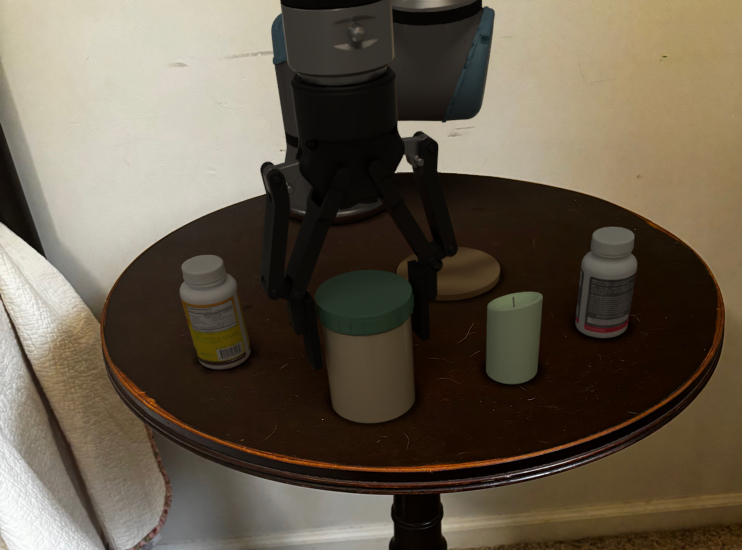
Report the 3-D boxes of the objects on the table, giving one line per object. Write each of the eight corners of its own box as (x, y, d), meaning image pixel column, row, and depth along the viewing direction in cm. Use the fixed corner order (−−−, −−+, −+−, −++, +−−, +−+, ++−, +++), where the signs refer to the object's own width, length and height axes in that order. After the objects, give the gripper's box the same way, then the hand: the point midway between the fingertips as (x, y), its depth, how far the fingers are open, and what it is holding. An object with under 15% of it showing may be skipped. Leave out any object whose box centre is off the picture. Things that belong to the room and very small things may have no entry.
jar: (320, 388, 78) (305, 288, 70) (395, 367, 80) (388, 268, 72) (348, 432, 72) (336, 330, 65) (429, 408, 74) (425, 306, 67)
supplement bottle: (216, 339, 85) (193, 247, 78) (261, 347, 84) (242, 254, 76) (187, 367, 82) (161, 272, 74) (234, 376, 80) (211, 280, 73)
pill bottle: (638, 328, 82) (654, 236, 76) (599, 345, 81) (612, 252, 74) (601, 308, 86) (613, 218, 79) (563, 324, 84) (572, 233, 77)
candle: (475, 369, 79) (476, 291, 73) (513, 351, 81) (517, 274, 75) (508, 391, 76) (512, 312, 70) (547, 372, 78) (554, 294, 72)
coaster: (381, 266, 95) (380, 260, 95) (471, 244, 98) (471, 238, 98) (422, 310, 87) (422, 304, 87) (518, 285, 90) (519, 278, 90)
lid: (303, 300, 71) (301, 283, 70) (391, 279, 73) (389, 261, 72) (335, 345, 66) (333, 326, 64) (429, 320, 68) (429, 301, 67)
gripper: (200, 111, 51) (261, 401, 67) (506, 56, 57) (497, 336, 72) (176, 82, 56) (238, 359, 72) (460, 34, 62) (460, 301, 77)
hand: (368, 347), depth 72 cm, fingers open, 10 cm apart
